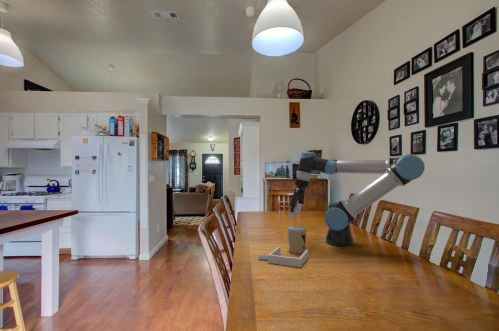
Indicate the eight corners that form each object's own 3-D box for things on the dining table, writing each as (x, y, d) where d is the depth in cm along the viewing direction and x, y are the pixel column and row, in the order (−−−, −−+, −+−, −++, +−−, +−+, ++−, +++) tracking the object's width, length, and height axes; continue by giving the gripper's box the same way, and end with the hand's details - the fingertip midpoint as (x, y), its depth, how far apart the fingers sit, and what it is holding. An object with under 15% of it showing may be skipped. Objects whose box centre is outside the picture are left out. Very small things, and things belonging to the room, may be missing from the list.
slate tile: (270, 258, 131) (270, 256, 131) (269, 262, 126) (269, 259, 126) (259, 258, 132) (259, 255, 132) (258, 261, 127) (258, 258, 127)
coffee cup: (306, 254, 135) (306, 229, 135) (287, 253, 137) (287, 229, 137) (306, 249, 144) (306, 226, 144) (288, 248, 146) (288, 225, 146)
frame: (308, 257, 131) (308, 249, 131) (300, 267, 117) (300, 259, 117) (278, 253, 137) (278, 246, 137) (267, 262, 123) (267, 255, 123)
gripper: (301, 177, 164) (293, 211, 165) (289, 178, 141) (280, 217, 143) (314, 180, 161) (305, 214, 162) (303, 181, 138) (294, 221, 140)
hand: (294, 216), depth 153 cm, fingers open, 13 cm apart
